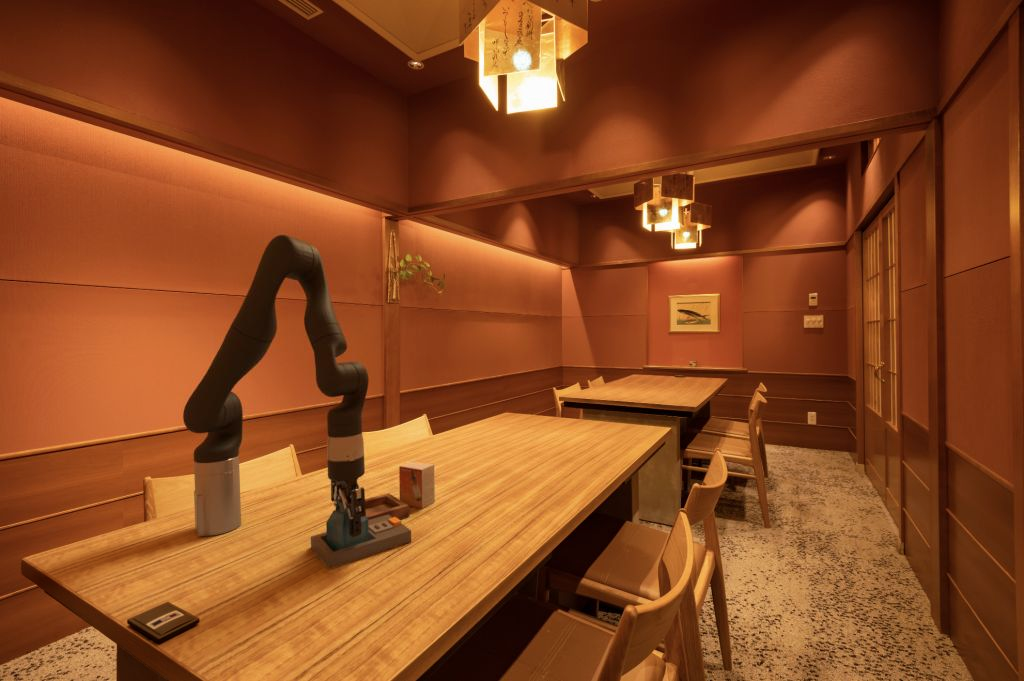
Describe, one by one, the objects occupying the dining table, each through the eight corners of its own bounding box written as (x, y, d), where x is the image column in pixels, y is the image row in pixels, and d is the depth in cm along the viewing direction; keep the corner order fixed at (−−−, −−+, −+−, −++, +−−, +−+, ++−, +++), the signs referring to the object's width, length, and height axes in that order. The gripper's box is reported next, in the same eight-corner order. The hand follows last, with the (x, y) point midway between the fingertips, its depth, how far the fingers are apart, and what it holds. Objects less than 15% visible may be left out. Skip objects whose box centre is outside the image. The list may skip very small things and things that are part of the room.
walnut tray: (362, 530, 109) (362, 518, 109) (345, 515, 118) (344, 504, 118) (409, 516, 117) (408, 505, 116) (389, 503, 126) (388, 493, 126)
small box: (399, 504, 125) (398, 465, 125) (412, 497, 130) (411, 460, 130) (422, 509, 121) (421, 469, 121) (435, 501, 126) (434, 463, 126)
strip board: (328, 569, 91) (328, 552, 91) (311, 547, 101) (310, 532, 100) (411, 541, 103) (410, 526, 103) (388, 524, 112) (388, 511, 112)
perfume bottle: (343, 559, 95) (341, 502, 95) (327, 550, 99) (325, 495, 99) (368, 547, 100) (367, 493, 100) (352, 540, 104) (350, 487, 104)
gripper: (317, 451, 102) (320, 523, 103) (339, 465, 91) (342, 545, 92) (351, 445, 107) (353, 514, 108) (375, 457, 96) (378, 534, 97)
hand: (348, 528), depth 100 cm, fingers open, 8 cm apart
